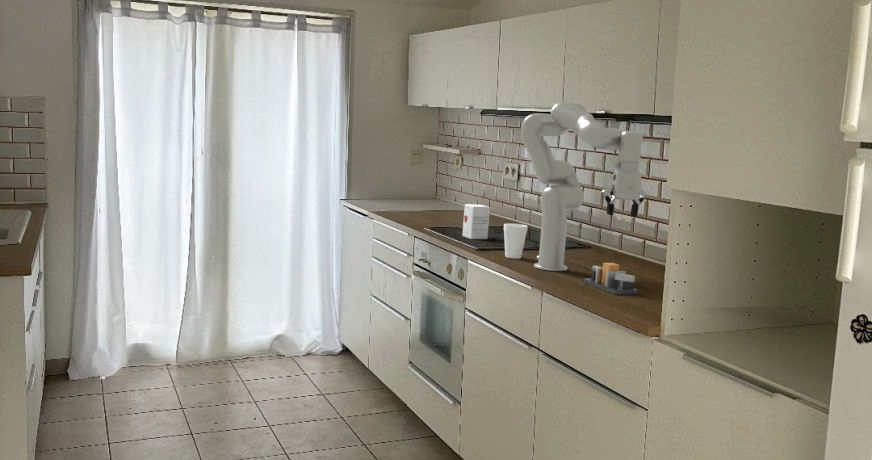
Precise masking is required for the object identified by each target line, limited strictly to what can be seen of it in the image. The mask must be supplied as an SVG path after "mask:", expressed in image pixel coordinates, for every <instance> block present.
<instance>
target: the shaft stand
mask: <svg viewBox="0 0 872 460" xmlns="http://www.w3.org/2000/svg"><path fill="white" fill-rule="evenodd" d="M602 269H603V266H599V265H595V264H594V265H592V267H591V272H590V278H588V277H587V278H586V277H585V278H582V283H583V284H585V285H587V286H590V287H593V288H595V287H596V289H598V288H599V290H601V289H602V290H601V291H603V290H605V291H604V292H606V291H607V293H609V292H610V293H609V294H611V293H612V295H614V294H617V295H618V294H619V295H621V294H623V295H624V296H625V295H638V292H639V291H638V289H637V288H635V279H636V276H635V275H630V274H628V273H627V272H626V271H625V270H624V271H623V270H619V271H607V275H606V284H603V283H601V280H602ZM626 273H627V274H626ZM619 295H618V296H619ZM621 296H622V295H621Z"/></svg>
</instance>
